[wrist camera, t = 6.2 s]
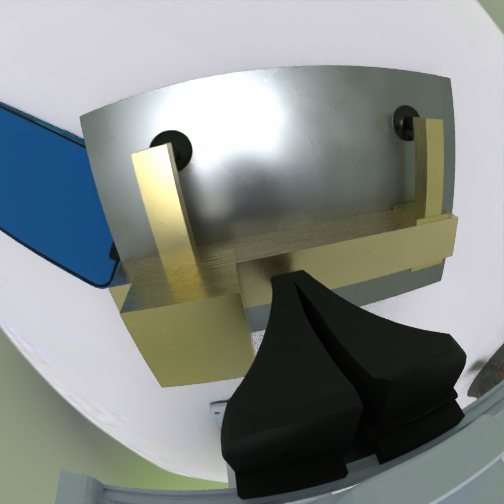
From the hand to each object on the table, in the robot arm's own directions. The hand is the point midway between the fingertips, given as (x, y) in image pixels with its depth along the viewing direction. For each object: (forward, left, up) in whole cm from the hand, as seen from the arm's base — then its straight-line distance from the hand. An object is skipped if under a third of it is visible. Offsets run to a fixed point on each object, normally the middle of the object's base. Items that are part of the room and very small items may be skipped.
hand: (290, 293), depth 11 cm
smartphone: (+7, +13, -5) cm, 15 cm away
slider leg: (+2, +4, -3) cm, 6 cm away
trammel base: (+2, -2, -4) cm, 5 cm away
